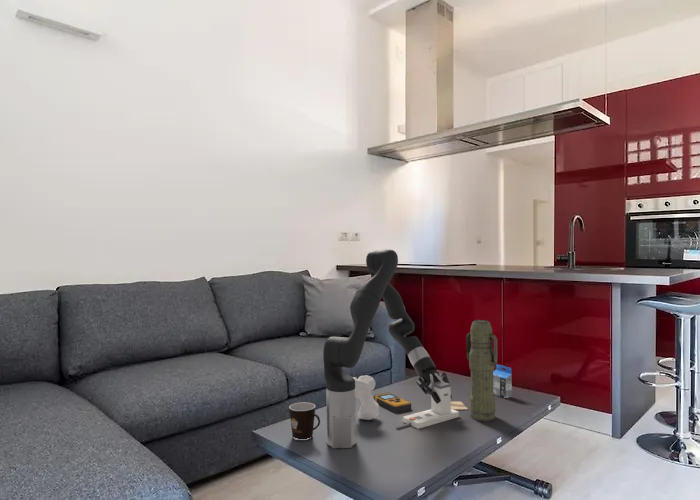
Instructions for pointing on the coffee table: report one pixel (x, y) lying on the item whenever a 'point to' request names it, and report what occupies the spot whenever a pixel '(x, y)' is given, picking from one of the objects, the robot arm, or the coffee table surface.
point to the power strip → (426, 419)
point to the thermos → (481, 369)
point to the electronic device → (392, 402)
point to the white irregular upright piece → (366, 397)
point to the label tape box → (502, 381)
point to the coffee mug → (303, 419)
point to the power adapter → (442, 398)
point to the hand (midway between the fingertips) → (444, 400)
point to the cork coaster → (458, 405)
